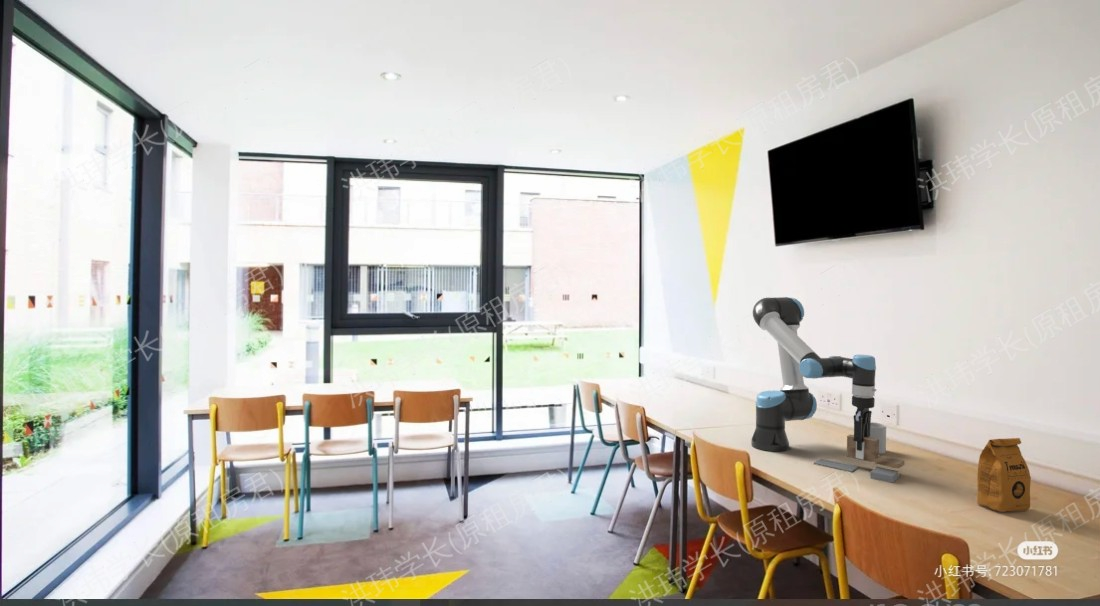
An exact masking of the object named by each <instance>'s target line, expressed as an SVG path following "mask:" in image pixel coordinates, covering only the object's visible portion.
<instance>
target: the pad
mask: <svg viewBox="0 0 1100 606" xmlns="http://www.w3.org/2000/svg"><path fill="white" fill-rule="evenodd" d="M813 463H814V464H813V465H816V464H818V465H817V466H821V465H822V467H827V468H830V469H835V470H840V471H845V472H850V473H853V472H855V471H856V470H857V469H859V468H860V466H858V465H855V464H849V463H845V462H839V461H836V460H829V459H827V458H820V459H817V460H816V461H814V462H813Z"/></svg>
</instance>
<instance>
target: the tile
mask: <svg viewBox="0 0 1100 606" xmlns="http://www.w3.org/2000/svg"><path fill="white" fill-rule="evenodd" d="M869 476H870V479H872V480H878V481H881V482H887V483H891V484H893V483H894V482H895V481H896V480H897V479H899V470H896V469H890V468H885V467H881V466H876V467H874V468H873V469H872V470H871V471H870V475H869Z"/></svg>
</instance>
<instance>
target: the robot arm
mask: <svg viewBox="0 0 1100 606" xmlns="http://www.w3.org/2000/svg"><path fill="white" fill-rule="evenodd" d="M752 317H753V319H754V321H755V323H756V325H757V326H758V327H759V328H760V329H761V330H763V331H766V332H767V333H768V334H770V336H771V337H772V338H773V339H774V340H775V341H776V342H777V348H778V356H779V363H780V364H779V365H780V370H781V371H780V372H781V380H782V387H780V389H779V390H765V391H761V392H758V394H757V395H756V400H755V429H754V432H753V435H752V438H751V440H750V441H751V447H753V448H755V449H758V450H763V451H768V452H785V451H788V450H789V449H790V441H789V439H788V435H787V432H786V422H792V421H805V420H808V419H811V418H812V417H813V416H814V414H816V411H817V409H818V408H817V407H818V406H817V405H818V403H817V399H816V397H815V396H814V394H813V393H812V392H810V390H809V387H808V386H807V385H806V384H805V382H804V381H805V380H804V378H805V379H813V380H814V379H822V378H823V379H824V378H825V379H826V378H837V377H843V378H848V379H852V381H851V394H852V396H851V405H852V406H853V407H856V410H855V414H854V415H853V435H854V439H853V441H856V458H858V459H857V460H860V459H863V460H862V461H865V460H864V442H863V441H864V437H868V438H870V426H871V423H872V422H871V421H872V414H873V412H872V410H870V409H873V408H874V407H875V403H876V402H875V401H876V399H875V394H876V393H875V392H877V389H876V388H875V387H876V370H877V366H876V358H875V357H874V356H873V355H869V354H854V355H853V357H852V358H848V357H844V356H841V355H840V356H837V355H832V356H831V355H830V356H829V357H821V356H819V355H818V354H817V353H816V352H815V351H814V350H813V349H812V348H811V347H810V346H809V345H808V344H807V343H806V342H805V341H804V340H803V339H802V338H801V337H800V336H799V335H798V329H799V328H800V327H801V322H802V321H803V319H804V317H805V308H804V306H803V304H802V302H801V301H799V300H798V298H793V297H787V296H785V297H784V296H783V297H779V296H778V297H763V298H761V299H759V300H758V301H757V302H756V303H755V304H754V306H753V308H752Z"/></svg>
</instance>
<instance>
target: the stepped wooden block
mask: <svg viewBox="0 0 1100 606" xmlns="http://www.w3.org/2000/svg"><path fill="white" fill-rule="evenodd" d="M853 439H854V434H848V435H846V458H851V459H855V460H861V461H865V462H866V461H867V462H872V463H874V464H875V465H880V466H885V467H890V468H896V469H900V468H902V467H903V466H905V462H906V461H905V459H901V458H895V457H890V456H886V455H880V454H879V439H874V438H868V437H864V441H863V442H864V460H863V459H858V458H856V441H853Z"/></svg>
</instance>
